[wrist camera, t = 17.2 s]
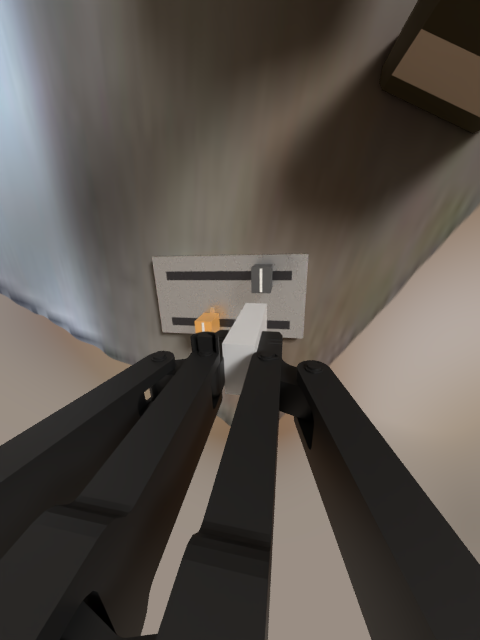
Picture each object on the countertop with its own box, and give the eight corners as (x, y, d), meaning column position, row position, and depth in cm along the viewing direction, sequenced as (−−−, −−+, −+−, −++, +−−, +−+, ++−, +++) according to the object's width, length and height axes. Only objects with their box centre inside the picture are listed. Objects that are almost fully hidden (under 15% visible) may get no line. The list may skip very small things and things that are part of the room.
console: (157, 256, 45) (151, 256, 43) (307, 253, 40) (308, 254, 38) (167, 328, 50) (162, 332, 48) (302, 334, 45) (303, 338, 43)
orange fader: (203, 312, 45) (194, 321, 40) (218, 313, 44) (211, 321, 40) (205, 332, 46) (196, 342, 41) (220, 332, 46) (212, 343, 41)
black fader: (255, 264, 40) (251, 267, 36) (272, 263, 40) (270, 267, 35) (255, 287, 42) (251, 293, 37) (272, 287, 41) (270, 293, 36)
